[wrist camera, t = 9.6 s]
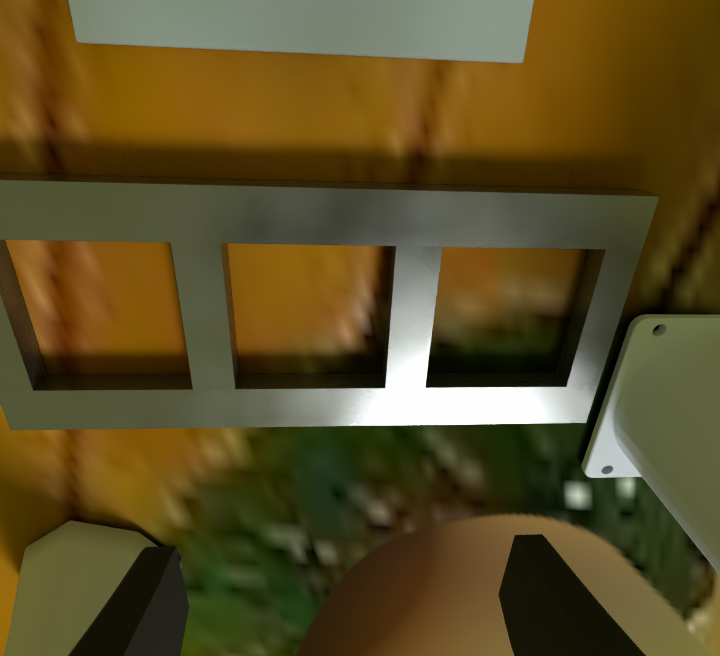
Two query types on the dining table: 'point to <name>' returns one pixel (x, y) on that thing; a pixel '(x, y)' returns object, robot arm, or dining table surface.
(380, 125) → the dining table surface
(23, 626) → the flask
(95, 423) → the grey slotted frame
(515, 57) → the pad
